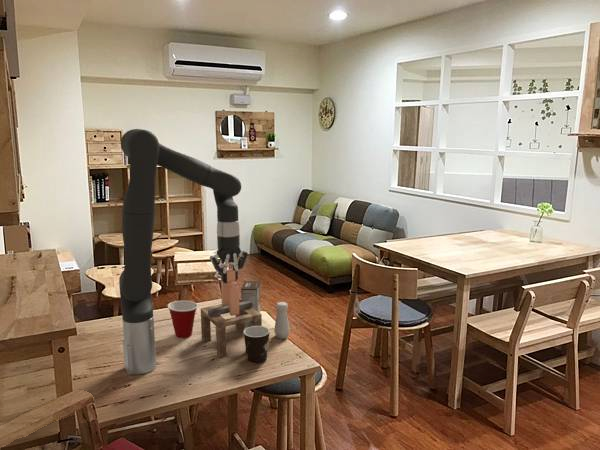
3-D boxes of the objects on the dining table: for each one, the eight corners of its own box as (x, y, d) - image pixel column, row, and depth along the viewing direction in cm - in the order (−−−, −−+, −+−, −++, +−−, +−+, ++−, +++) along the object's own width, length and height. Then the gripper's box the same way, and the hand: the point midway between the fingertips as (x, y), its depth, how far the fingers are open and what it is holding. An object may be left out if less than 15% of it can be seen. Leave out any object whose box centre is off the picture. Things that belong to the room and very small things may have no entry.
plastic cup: (204, 336, 182) (202, 306, 179) (175, 344, 176) (173, 312, 173) (192, 326, 190) (191, 296, 188) (165, 333, 184) (163, 302, 182)
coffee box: (244, 318, 198) (244, 280, 194) (260, 318, 198) (260, 280, 194) (241, 328, 189) (240, 288, 185) (258, 328, 189) (258, 288, 185)
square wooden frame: (219, 357, 166) (218, 318, 163) (201, 339, 179) (200, 303, 176) (261, 346, 175) (261, 308, 172) (241, 329, 188) (241, 294, 185)
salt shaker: (281, 331, 186) (281, 299, 184) (293, 336, 183) (293, 302, 180) (270, 336, 182) (270, 303, 179) (282, 341, 178) (282, 307, 176)
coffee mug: (258, 350, 171) (258, 323, 169) (275, 359, 165) (275, 331, 163) (231, 362, 163) (230, 333, 161) (247, 371, 157) (247, 342, 155)
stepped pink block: (231, 316, 170) (230, 274, 167) (221, 308, 177) (220, 268, 174) (239, 314, 172) (238, 272, 169) (229, 306, 178) (228, 266, 175)
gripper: (213, 238, 161) (215, 288, 165) (251, 233, 169) (252, 281, 173) (204, 233, 168) (206, 282, 171) (242, 228, 175) (243, 275, 179)
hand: (229, 281), depth 172 cm, fingers closed on stepped pink block, 3 cm apart
